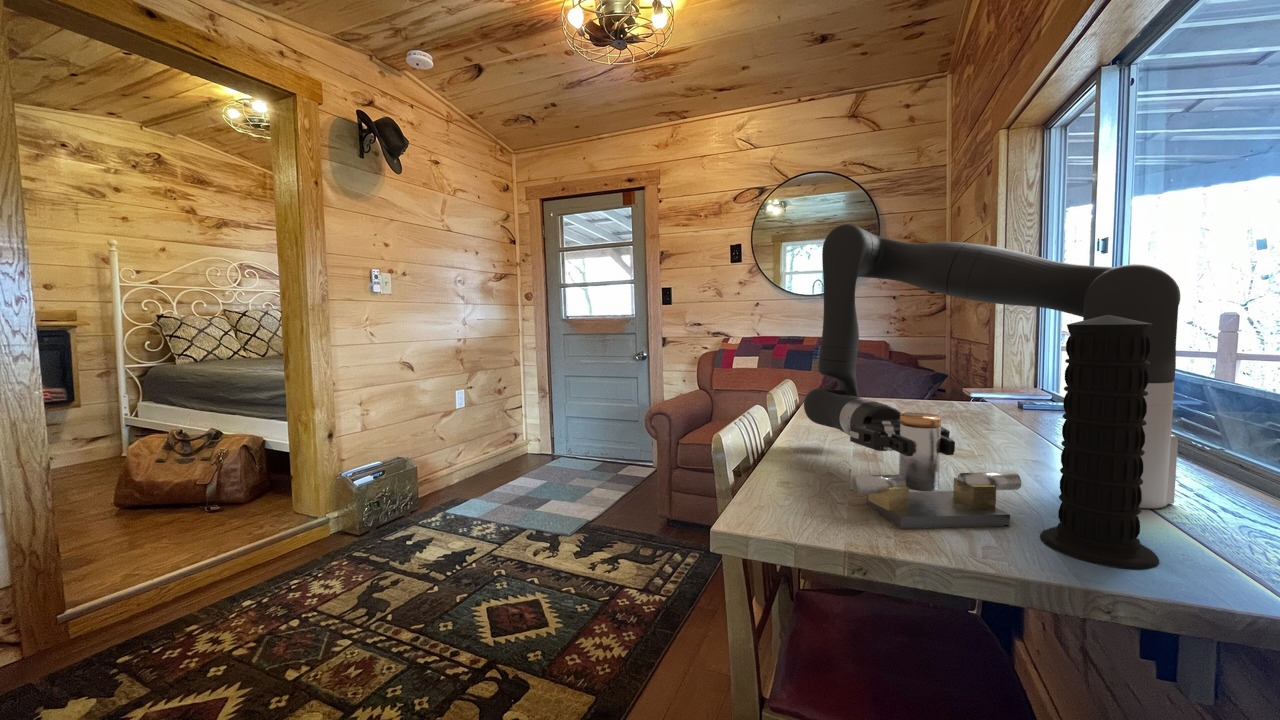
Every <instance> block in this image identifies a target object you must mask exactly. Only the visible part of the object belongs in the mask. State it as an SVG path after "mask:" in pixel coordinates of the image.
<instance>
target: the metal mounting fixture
mask: <svg viewBox="0 0 1280 720" xmlns="http://www.w3.org/2000/svg"><path fill="white" fill-rule="evenodd" d="M852 483H853V489H854V492H855V493H856V494H858V495H864V494H865V495H866V499H865V501H866V505H868V506H869V507H871V509H873V510H875V511H876V512H878V513H879V514H880V515H882V516H883V517H884V518H885V519H886V520H888V521H889V522H890V523H892V524H893V525H894V526H896V527H897V528H898V529H901V530H905V529H906V530H908V529H911V530H912V529H913V530H914V529H915V530H916V529H944V528H945V529H946V528H947V529H948V528H949V529H950V528H951V529H952V528H979V527H980V528H981V527H982V528H983V527H1005V526H1004V525H1011V524H1010V523H1011V514H1010V513H1008V512H1007V511H1004V510H1002V509H1000V508H998V507H996V506H997V505H996V502H997V498H996V497H997V491H1017V490H1019V489H1021V487H1022V479H1021V476H1020V474H1019V473H1017V472H1015V471H992V472H991V471H987V472H986V471H985V472H983V471H982V472H960V473H959V474H958V476H957V477H955V476H954V477H953V487H952V488H953V490H941V491H939V490H936V491H909V490H910V489H909V487H906V481H905V479H904V477H903V476H902V475H900V474H899V473H898V474H869V475H866V474H863V475H862V474H860V475H859V474H858V475H854V477H853V480H852Z"/></svg>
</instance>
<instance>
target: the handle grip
mask: <svg viewBox="0 0 1280 720" xmlns="http://www.w3.org/2000/svg"><path fill="white" fill-rule="evenodd" d="M1151 326H1152V324H1151V323H1146V322H1141V321H1136V320H1131V319H1126V318H1122V317H1117V316H1112V315H1105V316H1101V317H1097V318H1092V319H1088V320H1084V321H1083V320H1080V321H1077V322H1071V323H1068V324H1066V327H1067V330H1068V332H1069V336H1068V338H1067V341H1066V342H1065V352H1066V355H1067V357H1068V358H1066V359H1065V360H1064V361H1065V363H1067V364H1068V365H1067V366H1066V367H1065V370H1064V381H1065V385H1066V386H1064V387H1063V390H1064V391H1065V392H1066V394H1065V395H1064V398H1063V410H1064V414H1062V418H1063V419H1064V423H1063V425H1062V428H1061V435H1062V438H1063V440H1062V441H1061V443H1060V444H1061V446H1062V447H1063V450H1062V451H1061V454H1060V463H1061V468H1060V469H1059V471H1060V473H1061V474H1062V475H1061V477H1060V480H1059V490H1060V494H1059V495H1058V499H1059V501H1060V506H1059V507H1058V513H1057V514H1058V515H1057V516H1058V520H1059V523H1058V524H1057V525H1056V526H1054V527H1049V528H1046V529H1044V530H1043V531H1042V532H1041V533H1040V535H1039V539H1040V538H1041V539H1040V540H1041V542H1042V543H1043V544H1044V545H1046V546H1047V545H1048V546H1047V547H1049V548H1050V549H1052V550H1055V551H1057V552H1059V553H1061V554H1063V555H1066V556H1069V557H1071V558H1074V559H1077V560H1081V561H1084V562H1087V563H1091V564H1094V565H1101V566H1105V567H1111V568H1117V569H1123V570H1150V569H1153V568H1157V567H1158V566H1159V565H1160V564H1161V561H1160V559H1159V557H1158V556H1157V554H1156V553H1155V552H1154V551H1153V550H1152V549H1150V548H1149V547H1147V546H1146V545H1143V544H1142V543H1141V542H1140V541H1141V540H1140V539H1139V538H1138V537H1139V535H1140V534H1141V522H1140V519H1139V516H1138V515H1140V514H1141V513H1142V508H1140V507H1139V505H1140V503H1141V501H1142V491H1141V488H1140V485H1142V484H1143V480H1142V479H1141V476H1142V474H1143V460H1142V457H1141V456H1143V455H1144V453H1145V452H1144V451H1143V450H1142V448H1143V446H1144V444H1145V433H1144V429H1143V427H1142V426H1144V425H1146V424H1147V423H1146V421H1145V420H1143V419H1144V417H1145V415H1146V413H1147V404H1146V400H1145V398H1144V397H1143V396H1147V395H1148V392H1147V391H1144V390H1145V389H1146V387H1147V385H1148V382H1149V375H1148V372H1147V369H1146V367H1145V366H1147V365H1149V364H1150V362H1149V361H1146V358H1147V357H1148V355H1149V353H1150V340H1149V338H1148V336H1147V334H1148V333H1149V332H1150V329H1151Z"/></svg>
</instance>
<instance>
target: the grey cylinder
mask: <svg viewBox="0 0 1280 720" xmlns="http://www.w3.org/2000/svg"><path fill="white" fill-rule="evenodd" d="M941 427H942V416H941V415H939V414H934V413H929V412H928V413H926V412H912V411H911V412H901V414H900V436H902V437H905V438H908V439H910V440H912V441H913V456H905V455H903V454H901V453H899V452H898V453H899V456H898V462H899V463H898V465H899V466H898V475H899V474H900V475H902V476H903V477H904V479H905V481H906V487H909V490H912V491H916V492H930V491H939V489H940V473H941V472H940V471H941V470H940V469H941V453H940V436H941Z"/></svg>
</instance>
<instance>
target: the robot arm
mask: <svg viewBox="0 0 1280 720" xmlns="http://www.w3.org/2000/svg"><path fill="white" fill-rule="evenodd" d="M821 255H822V256H821V257H822V260H821V261H822V263H821V264H822V278H823V279H822V281H823V284H822V285H823V318H822V334H821V342H820V349H819V358H818V366H817V367H818V369H817V370H818V372H819V374H820V375H822V376H824V377H827V378H831V379H833V380H835V381H836V383H837V386H838V389H833V388H824V387H819V388H813V389H812V390H810V391H809V392H808V393H807V394H806V396H805V397H804V401H803V408H804V414H806V416H807V418H808V419H809V420H810V421H811V422H812V423H814V424H817V425H820V426H823V427H824V426H825V427H829V428H832V429H837V430H840V432H842V433H844V434H847V435H848V436H849V441H850V442H851V443H854V444H856V445H860V446H862V447H865V448H868V449H871V450H874V451H878V452H887V451H888V452H893V451H894V452H897V453H901V454H903V455H905V456H913V441H912V440H910V439H908V438H905V437H902V436H900V414H901V413H902V412H901V411H900V410H899V409H897V408H896V407H893V406H891V405H888V404H884V403H882V402H878V401H876V400H873V399H868V398H867V399H866V398H862V397H860V394H859V389H858V380H857V372H856V371H857V370H856V367H857V360H858V351H859V344H860V343H859V342H860V335H859V323H858V322H859V321H858V316H857V309H856V307H857V306H856V288H857V287H856V285H857V279H858V278H868V279H872V278H873V279H880V280H881V279H882V280H891V281H896V282H901V283H904V284H909V285H911V286H914V287H916V288H920V289H922V290H923V289H924V290H926V291H931V292H934V293H938V294H941V295H945V296H950V297H954V298H959V299H965V300H969V301H976V302H980V303H989V304H996V305H1006V306H1019V307H1022V306H1023V307H1033V308H1034V307H1035V308H1043V309H1049V310H1053V311H1057V312H1063V313H1067V314H1070V315H1074V316H1077V317H1080V318H1083V320H1082V321H1084V320H1088V319H1092V318H1097V317H1101V316H1105V315H1112V316H1117V317H1122V318H1126V319H1131V320H1136V321H1141V322H1146V323H1151V324H1152V326H1151V329H1150V332H1149V333H1148V334H1147V336H1148V338H1149V340H1150V353H1149V355H1148V357H1147V358H1146V361H1149V362H1150V364H1149V365H1147V366H1145V367H1146V369H1147V372H1148V375H1149V382H1148V385H1147V387H1146V389H1145V390H1144V391H1147V392H1148V395H1147V396H1143V397H1144V398H1145V400H1146V404H1147V413H1146V415H1145V417H1144V419H1143V420H1145V421H1146V423H1147V424H1146V425H1144V426H1142V427H1143V429H1144V433H1145V444H1144V446H1143V448H1142V450H1143V451H1144V452H1145V453H1144V455H1143V456H1141V457H1142V460H1143V474H1142V476H1141V479H1142V480H1143V484H1142V485H1140V488H1141V491H1142V501H1141V503H1140V505H1139V507H1140V508H1141V509H1161V508H1165V507H1167V505H1170V504H1175V496H1176V495H1175V494H1176V493H1175V492H1176V479H1177V477H1176V476H1177V460H1178V459H1177V458H1178V443H1179V438H1178V436H1176V435H1174V434H1172V430H1173V429H1172V427H1173V415H1174V413H1173V412H1174V411H1173V409H1174V394H1175V393H1174V392H1175V381H1176V380H1175V379H1176V369H1177V367H1176V365H1177V364H1176V363H1177V358H1176V357H1177V346H1176V345H1177V333H1178V332H1177V331H1178V319H1179V316H1178V315H1179V306H1180V302H1181V291H1180V287H1179V284H1177V282H1176V280H1175V279H1174V278H1173V277H1172V276H1171V275H1170V274H1169V273H1167V272H1166V271H1164V270H1162V269H1161V268H1158V267H1155V266H1151V265H1147V264H1140V263H1139V264H1137V263H1132V264H1123V265H1119V266H1116V267H1115V266H1113V267H1112V266H1098V265H1087V264H1075V263H1067V262H1061V261H1055V260H1051V259H1047V258H1044V257H1040V256H1038V255H1032V254H1029V253H1025V252H1022V251H1018V250H1014V249H1009V248H1004V247H997V246H992V245H986V244H979V243H977V244H976V243H970V242H962V241H961V242H960V241H942V242H941V241H936V242H927V243H925V242H924V243H910V242H903V241H900V240H893V239H890V238H885V237H882V236H879V235H877V234H873V233H871V232H870V231H867V230H866V229H864V228H862V227H859V226H858V225H854V224H850V223H849V224H848V223H847V224H846V223H845V224H841V225H839V226H836V227H834V228H833V229H832V230H831V231H830V232H829V233H828V234H827V235H826V237H825V240H824V241H823V245H822V254H821ZM950 433H951V432H950V430H948V429H946V428H945V427H943V426H941V436H940V454H943V455H946V456H953V455H954V453H955V451H956V449H955V448H956V442H955V441H954V439H952V438H950Z"/></svg>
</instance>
